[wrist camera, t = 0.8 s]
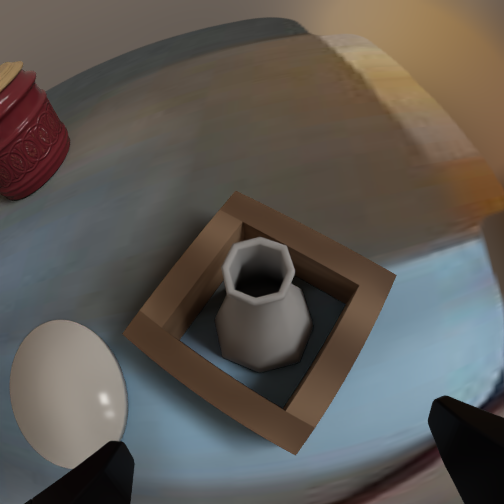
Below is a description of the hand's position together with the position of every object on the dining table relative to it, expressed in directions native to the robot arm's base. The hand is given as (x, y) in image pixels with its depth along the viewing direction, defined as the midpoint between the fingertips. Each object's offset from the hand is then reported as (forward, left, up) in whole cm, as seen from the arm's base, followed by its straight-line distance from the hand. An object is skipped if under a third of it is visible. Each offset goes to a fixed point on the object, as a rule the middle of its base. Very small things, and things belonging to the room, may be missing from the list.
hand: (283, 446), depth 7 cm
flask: (+5, +4, -14) cm, 15 cm away
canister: (+5, +41, -14) cm, 44 cm away
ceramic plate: (-10, +14, -13) cm, 22 cm away
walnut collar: (+5, +4, -13) cm, 15 cm away
